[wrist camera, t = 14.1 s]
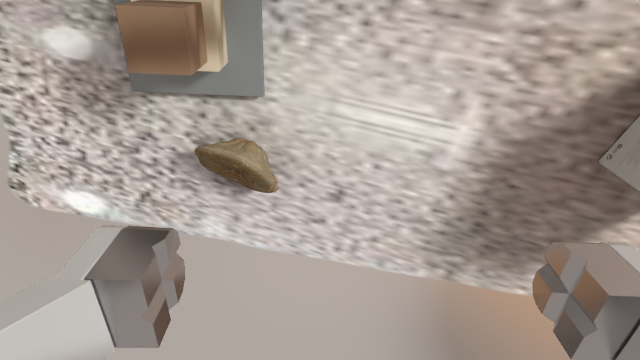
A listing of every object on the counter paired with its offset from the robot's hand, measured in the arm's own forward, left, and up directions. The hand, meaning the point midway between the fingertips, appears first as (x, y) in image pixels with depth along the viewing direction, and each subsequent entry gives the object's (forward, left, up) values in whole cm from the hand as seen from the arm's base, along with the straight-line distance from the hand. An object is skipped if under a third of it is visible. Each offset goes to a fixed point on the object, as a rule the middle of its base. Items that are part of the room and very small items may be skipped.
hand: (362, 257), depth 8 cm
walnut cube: (0, -14, -29) cm, 32 cm away
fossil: (+15, -10, -34) cm, 39 cm away
